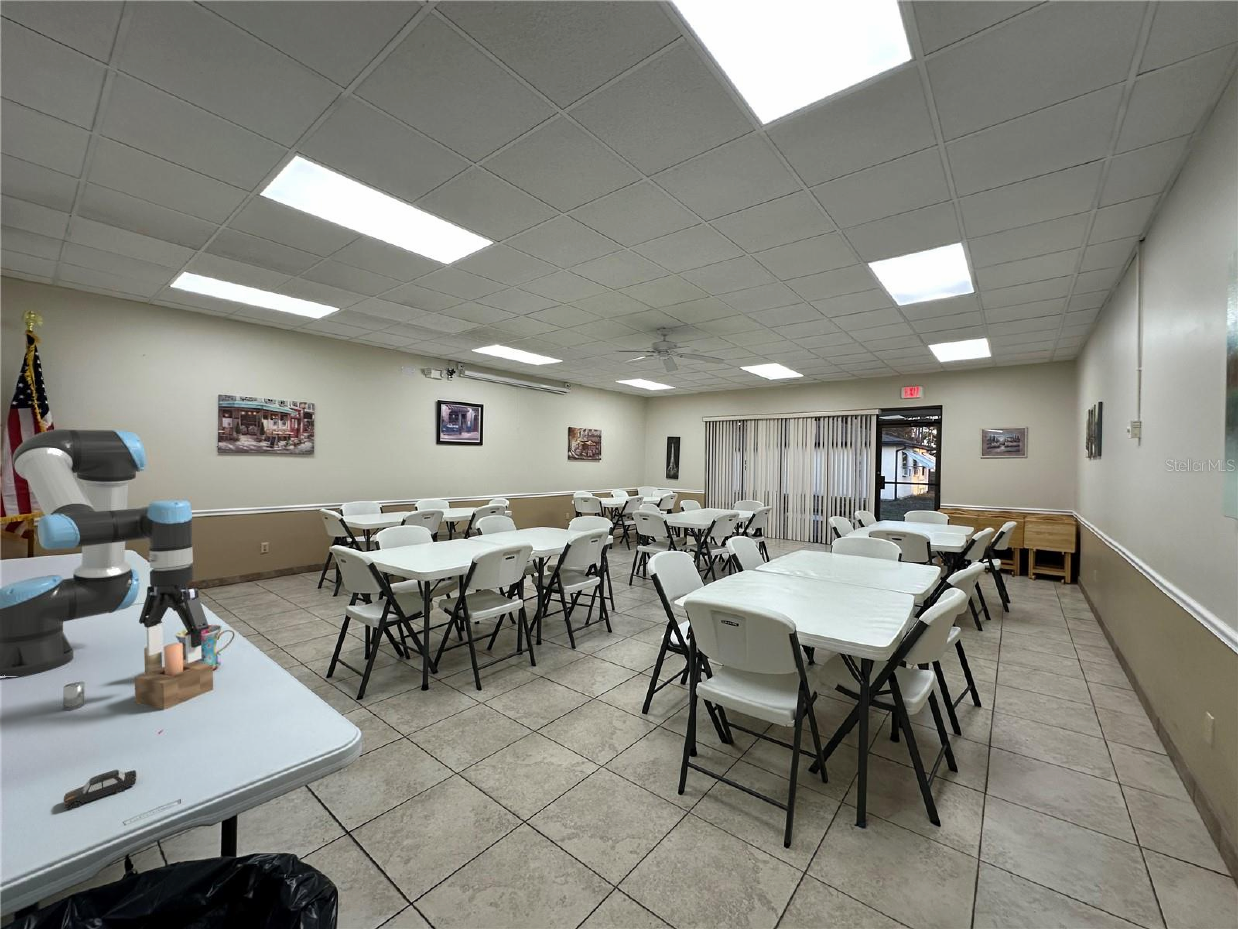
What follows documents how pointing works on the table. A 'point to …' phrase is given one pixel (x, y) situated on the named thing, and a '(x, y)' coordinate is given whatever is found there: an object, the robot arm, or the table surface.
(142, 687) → the block
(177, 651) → the long pin
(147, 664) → the medium pin
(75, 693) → the short pin
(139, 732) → the table surface
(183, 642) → the mug
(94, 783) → the toy car
